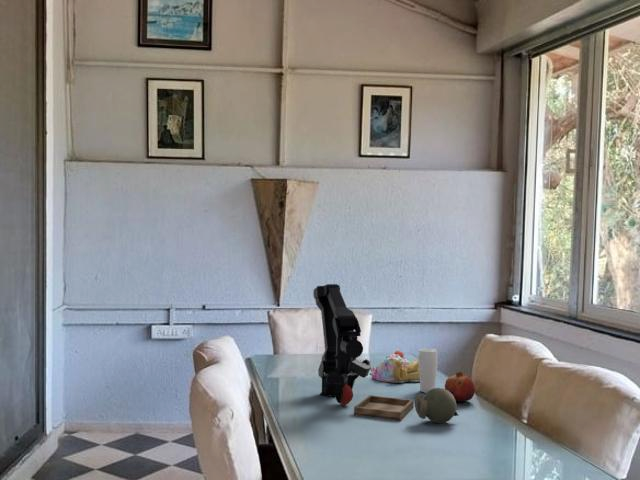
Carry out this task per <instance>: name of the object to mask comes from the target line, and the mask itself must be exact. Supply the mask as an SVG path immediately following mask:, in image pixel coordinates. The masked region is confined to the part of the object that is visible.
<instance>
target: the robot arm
mask: <svg viewBox="0 0 640 480" xmlns="http://www.w3.org/2000/svg"><path fill="white" fill-rule="evenodd" d="M313 298H314V300H315V305H316V306H317V308H318V309H319V310H320V312H321V313H320V314H321V320H322V329H323V330H322V332H323V333H322V334H323V342H324V352H323V354H322V355H321V361H320V364H319V366H318V370H317V372H318V377H319V378H321V392H320V393H319V395H320V396H327V397H334V398H335V400H336V402H337V403H338V404H341V401H342V395H343V388H344V386H345V385H346V384H347V385H349V386H350V387H351V389H352V390H353V388H354V385H355V381H356V379H358V378H359V377H361V378H366V377H368V376H369V374H370V372H371V368H372V365H371V360H369V359H367V358H365V359H363V360H358V359H357V358H359V357H360V356H361V355H362V354H363V352H364V346H363V344H362V343H361V341H359V340H358V337H361V332H362V330H361V326H360V323H359V320H358V318H357V317H356V315H355V312H353V310H352V309H349V308H348V307H347V305H346V302H345V300H344V298H343V295H342V293H341V287H340V284H338V283H329V284H328V283H327V284H325V285H317V286H316V287H315V288H314V289H313Z"/></svg>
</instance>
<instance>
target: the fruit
mask: <svg viewBox="0 0 640 480" xmlns="http://www.w3.org/2000/svg"><path fill="white" fill-rule="evenodd" d="M475 388H476V387H475V384H474V380H473V379H472V378H471V377H470V376H468V375H464V374H463V371H459V372H456V373H455V374H452V375H450V376H449V377H448V378H447V379H446V380H445V382H444V389H446V390H448V391H449V390H453V391H454V393H453V394H452V395H453V396H454V398H455V401H456V402H459V403H461V402H462V403H463V402H464V403H465V402H468V401H470V400H472V398H473V397H474V395H475V391H476V389H475Z"/></svg>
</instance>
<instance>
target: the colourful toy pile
mask: <svg viewBox="0 0 640 480" xmlns="http://www.w3.org/2000/svg"><path fill="white" fill-rule="evenodd" d="M385 356H386V357H385V359H384V360H383V361H381V362H380V363H379V364H378V365H376V367H375V366H372V367H371V370H370V371H369V374H370V375H372V376H371V379H373V380H377V382H378V381H379V382H387V383H393V384H394V383H395V384H396V383H398V384H399V383H407V382H420V377H419V363H418V360H417V359H415V360H414V361H409V360H408V359H406V358H405V355H404V353H403V351H401V350H396V351H394V353H391V354H389V355H385Z"/></svg>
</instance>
